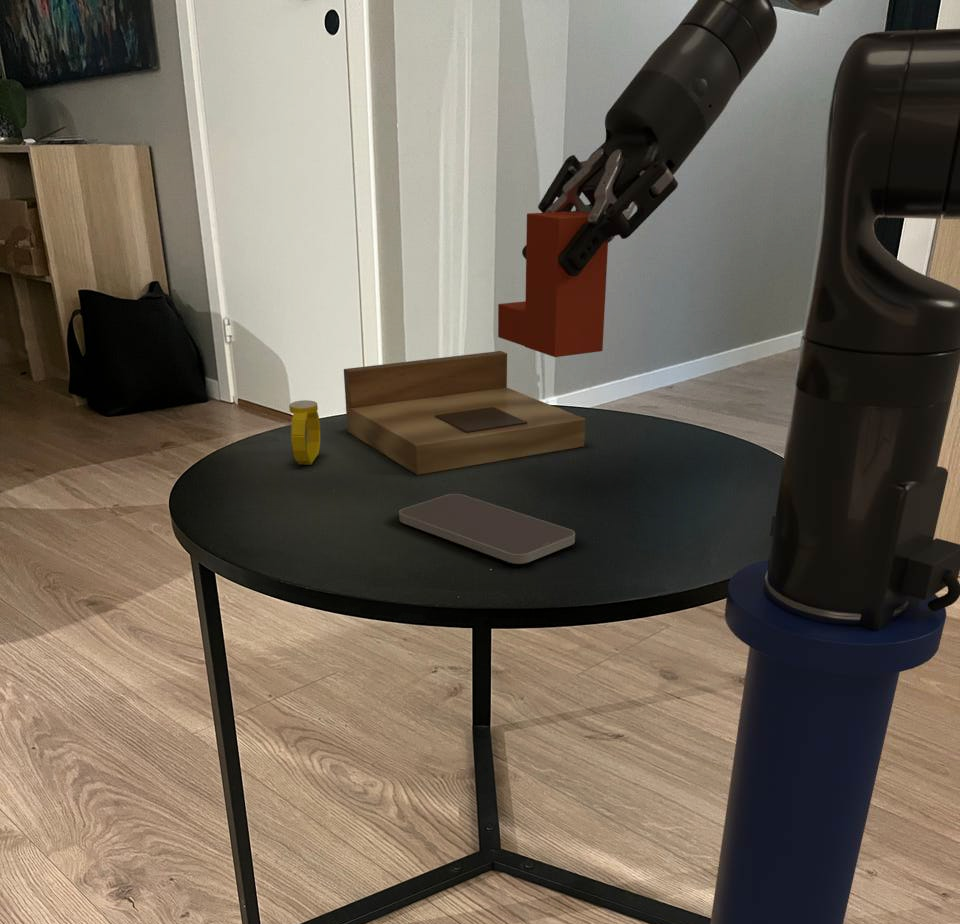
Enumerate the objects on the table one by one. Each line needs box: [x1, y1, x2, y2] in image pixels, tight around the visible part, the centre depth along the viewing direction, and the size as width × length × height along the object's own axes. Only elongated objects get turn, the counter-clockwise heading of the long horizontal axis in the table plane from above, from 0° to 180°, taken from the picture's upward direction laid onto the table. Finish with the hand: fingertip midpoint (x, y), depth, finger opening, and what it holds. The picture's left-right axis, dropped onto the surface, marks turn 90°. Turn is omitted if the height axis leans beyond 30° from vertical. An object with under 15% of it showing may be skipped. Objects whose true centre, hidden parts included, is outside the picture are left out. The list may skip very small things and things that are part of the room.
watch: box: [288, 399, 321, 466], centre depth 100 cm, size 6×3×6 cm, turn 174°
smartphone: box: [398, 493, 576, 565], centre depth 83 cm, size 7×1×15 cm
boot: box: [497, 210, 609, 358], centre depth 87 cm, size 10×5×11 cm, turn 29°
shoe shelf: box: [343, 350, 586, 476], centre depth 107 cm, size 18×20×7 cm
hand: (547, 264), depth 83 cm, fingers closed on boot, 5 cm apart
